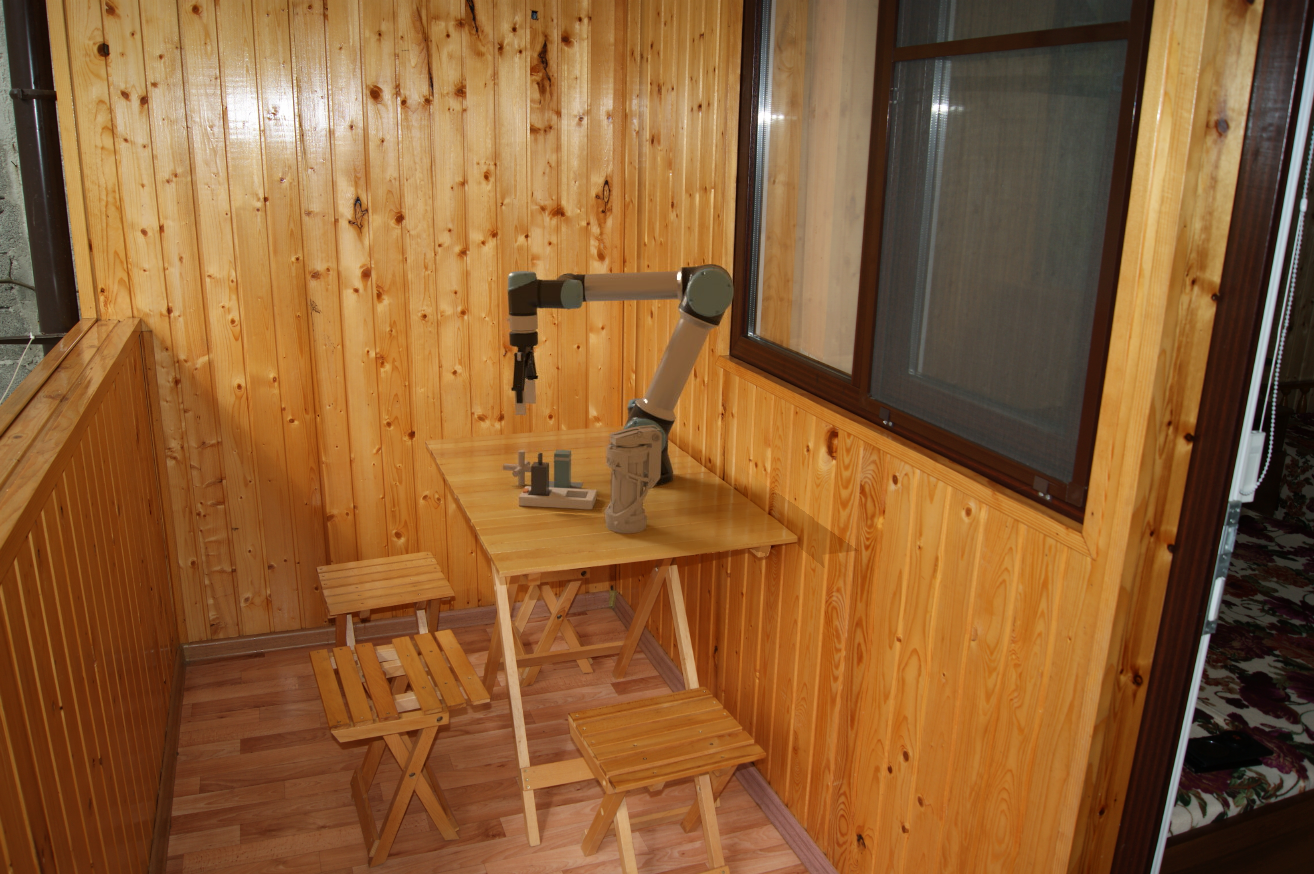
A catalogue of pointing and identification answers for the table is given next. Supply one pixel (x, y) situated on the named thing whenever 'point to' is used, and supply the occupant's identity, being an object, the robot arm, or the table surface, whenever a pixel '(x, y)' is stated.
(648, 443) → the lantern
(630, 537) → the table surface
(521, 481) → the pipe connector
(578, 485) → the pad
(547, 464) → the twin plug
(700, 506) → the table surface
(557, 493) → the power strip
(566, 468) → the plug
